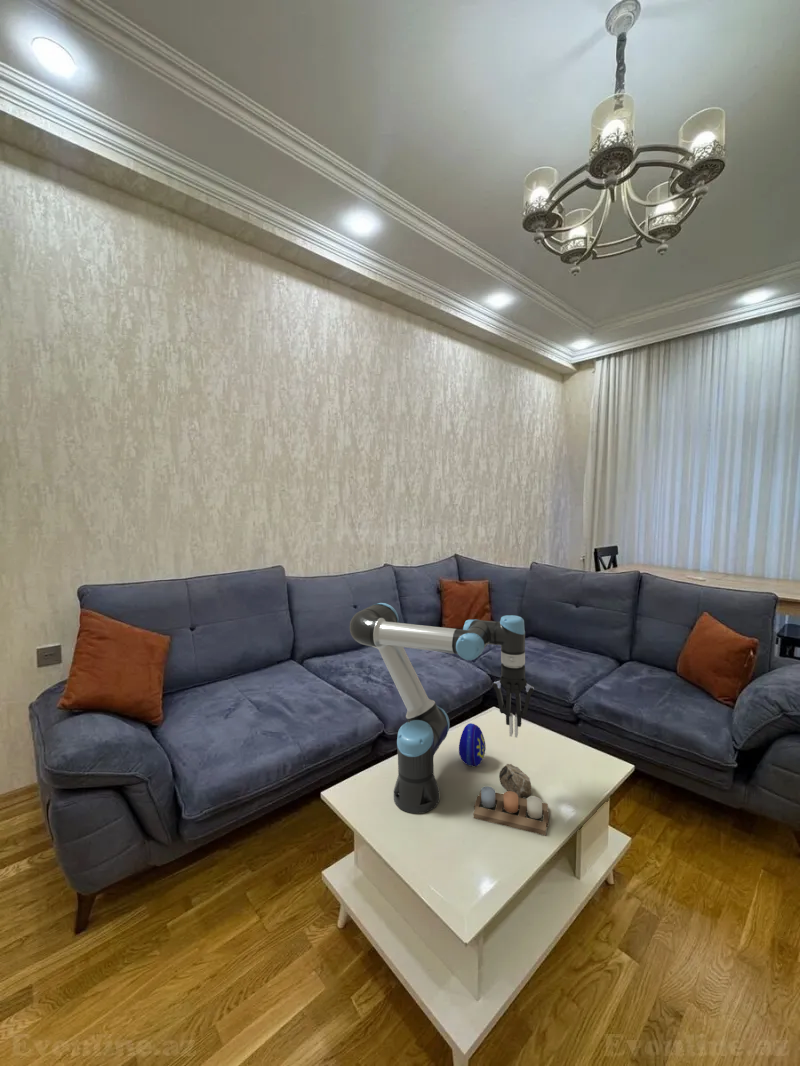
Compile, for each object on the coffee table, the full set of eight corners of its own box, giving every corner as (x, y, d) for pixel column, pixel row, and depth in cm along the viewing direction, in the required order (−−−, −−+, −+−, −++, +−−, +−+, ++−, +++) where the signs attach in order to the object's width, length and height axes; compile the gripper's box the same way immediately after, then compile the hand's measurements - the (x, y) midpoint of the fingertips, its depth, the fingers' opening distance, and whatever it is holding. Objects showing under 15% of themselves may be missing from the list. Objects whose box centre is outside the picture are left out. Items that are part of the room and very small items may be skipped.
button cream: (526, 816, 129) (526, 804, 129) (527, 807, 133) (527, 794, 133) (541, 820, 127) (541, 807, 127) (542, 810, 131) (542, 797, 131)
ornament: (478, 775, 152) (477, 734, 151) (454, 767, 157) (453, 727, 156) (489, 759, 162) (488, 720, 161) (466, 752, 166) (465, 714, 165)
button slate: (480, 805, 134) (479, 793, 134) (482, 797, 138) (482, 785, 138) (494, 809, 133) (494, 796, 132) (496, 800, 137) (496, 788, 136)
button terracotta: (502, 811, 132) (502, 798, 131) (504, 801, 136) (504, 789, 135) (517, 814, 130) (517, 802, 130) (519, 805, 134) (518, 792, 134)
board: (471, 817, 131) (471, 813, 131) (479, 793, 143) (479, 788, 142) (547, 836, 123) (547, 831, 123) (549, 808, 134) (549, 804, 134)
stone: (523, 804, 136) (523, 782, 136) (494, 785, 146) (495, 764, 146) (537, 796, 141) (538, 775, 140) (509, 778, 150) (509, 758, 150)
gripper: (489, 665, 138) (490, 736, 139) (534, 670, 133) (535, 744, 134) (493, 658, 145) (494, 725, 146) (536, 662, 140) (537, 732, 141)
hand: (513, 734), depth 140 cm, fingers closed
